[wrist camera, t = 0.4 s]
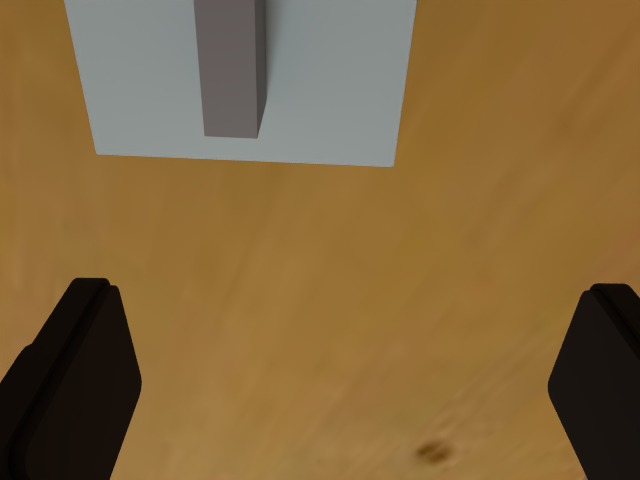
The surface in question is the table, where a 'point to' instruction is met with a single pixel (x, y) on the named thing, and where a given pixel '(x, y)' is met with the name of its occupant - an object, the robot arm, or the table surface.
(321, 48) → the lid
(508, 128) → the table surface
